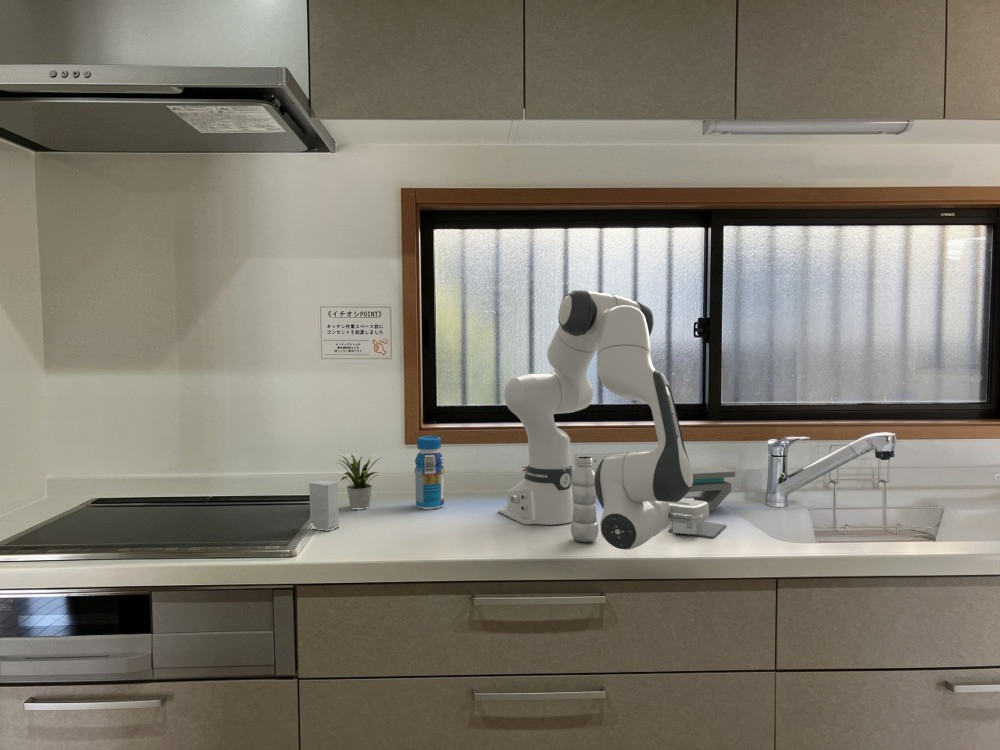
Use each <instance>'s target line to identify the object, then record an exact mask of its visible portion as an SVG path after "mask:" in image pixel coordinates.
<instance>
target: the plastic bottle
mask: <svg viewBox="0 0 1000 750" xmlns="http://www.w3.org/2000/svg"><path fill="white" fill-rule="evenodd" d="M575 465H576V469H575V470H574V471H573V472H572V477H571V487H572V493H573V519H572V520H573V521H572V522H571V523H570V524H571V525H570V527H571V528H570V532H571V537H572V538H573V540H574V541H577V542H580V543H591V542H594V541H596V540H597V539H598V537H599V536H598V535H599V525H598V520H597V510H596V509H597V508H596V506H597V503H596V502H597V495H596V490H595V482H594V478H595V473H596V471H594V469H593V468H592V466H593V457H592V456H587V455H586V456H585V455H583V456H577V457H576V462H575Z"/></svg>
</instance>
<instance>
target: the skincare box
mask: <svg viewBox="0 0 1000 750" xmlns="http://www.w3.org/2000/svg"><path fill="white" fill-rule="evenodd" d="M338 484H339V482H338V481H331V480H320V479H319V480H316V481H312V482H309V483H308V485H309V486H308V487H309V517H310V518H309V520H310V521H309V523H310V522H311V523H313V524H314V526H315V527H316V528H317V529H323V530H331V529H333V528H335V527H338V526H339V527H340V525H339V524H340V521H339V519H340V517H339V516H340V515H339V513H340V512H339V485H338Z"/></svg>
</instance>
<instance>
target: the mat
mask: <svg viewBox="0 0 1000 750" xmlns="http://www.w3.org/2000/svg"><path fill="white" fill-rule="evenodd" d="M726 527H727V524H721V523H716V522H708V521H703V522H701V523H698V524H697V534H687V535H686V536H692V535H693V537H694V536H695V537H699V536H700V538H705V537H706V538H705V539H711V538H713V539H714V538H716V537H717V536H718V535H719V534H720V533H721V532H722V531H724V530H725V529H726ZM667 532H668V533H673V526H672V527H670V528H669V529H668V531H667ZM718 533H719V534H718ZM680 534H681V535H683V534H682V533H680ZM717 534H718V535H717ZM716 535H717V536H716ZM715 536H716V537H715Z"/></svg>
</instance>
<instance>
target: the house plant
mask: <svg viewBox="0 0 1000 750" xmlns="http://www.w3.org/2000/svg"><path fill="white" fill-rule="evenodd" d="M338 456H340V457H342V458H343V459H344V460H345V461H344V460H340V459H339V461H340V462H342V463H344V464H345V465H346V466H345V465H344V464H342V463H340V462H337V464H339V465H341V466H342V467H344V469H345V470H346V472H343V475H346V476H343V475H342V474H341V475H340V476H341V479H340V482H342V481H343V480H346V481H348V482H349V483H350V484H349V485H347V486H346V489H347V490H346V491H347V493H348V500H349V505H350V509H351V508H366V507H369V508H370V505H371V504H370V502H371V496H372V489H373V485H372V484H369V482H370V481H371V480H372V479H373V478H374V477H378V476H380V475H378V473H379V472H378V471H374V472H370V473H369V471H370V469H371V468H372V467H373V465H375V463H376V462H377V461H378V460H380V459H381V457H379V458H377V459H376V460H375V461H374V462H373V463H372V464H371V465H370V466H369V464H370V463H371V457H369V458H368V460H367V462H366V463H365V464H364V465H363V467H362V468H361V460H362V458H363V457H364V455H363V453H361V455H360V458H359V460H358V461H357V459H356V458H355V456H354V455H353V454H350V456H351V458H352V463H350V462H349V460H348V459H347V458H346V457H344V456H343V455H339V454H338ZM347 468H348V469H349V470H348V469H347ZM360 470H361V471H360ZM374 474H377V475H374ZM372 475H373V476H372ZM370 477H371V478H370ZM348 478H350V480H351V481H352V482H351V481H350V480H348ZM369 478H370V479H369Z"/></svg>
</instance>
